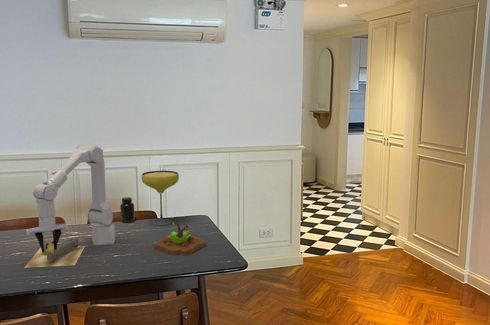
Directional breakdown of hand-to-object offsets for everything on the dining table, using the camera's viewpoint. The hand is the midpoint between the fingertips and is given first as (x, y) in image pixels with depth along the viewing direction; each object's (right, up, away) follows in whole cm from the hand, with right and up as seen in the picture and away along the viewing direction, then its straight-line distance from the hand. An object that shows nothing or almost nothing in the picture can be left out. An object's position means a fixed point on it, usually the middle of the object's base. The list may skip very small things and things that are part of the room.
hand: (49, 250), depth 179 cm
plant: (+46, -3, +22) cm, 52 cm away
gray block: (-4, -4, +11) cm, 13 cm away
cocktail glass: (+33, +3, +58) cm, 66 cm away
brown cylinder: (-1, -3, +10) cm, 11 cm away
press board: (0, -5, +8) cm, 9 cm away
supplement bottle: (+15, +3, +60) cm, 62 cm away
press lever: (+2, -3, +8) cm, 9 cm away
